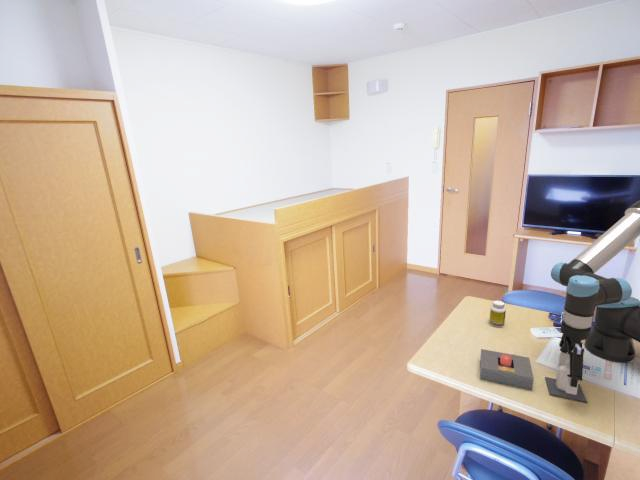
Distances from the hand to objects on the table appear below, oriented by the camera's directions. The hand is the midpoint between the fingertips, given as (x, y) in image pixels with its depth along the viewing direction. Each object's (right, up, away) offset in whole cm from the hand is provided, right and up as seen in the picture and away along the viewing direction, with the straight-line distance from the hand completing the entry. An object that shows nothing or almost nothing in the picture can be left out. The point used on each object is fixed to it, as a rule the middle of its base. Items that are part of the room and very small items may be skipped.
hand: (566, 380), depth 112 cm
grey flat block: (-15, -2, +10) cm, 19 cm away
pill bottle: (-1, +8, +43) cm, 44 cm away
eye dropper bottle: (0, -3, +1) cm, 3 cm away
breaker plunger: (-15, -1, +10) cm, 18 cm away
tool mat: (0, -4, +1) cm, 4 cm away
